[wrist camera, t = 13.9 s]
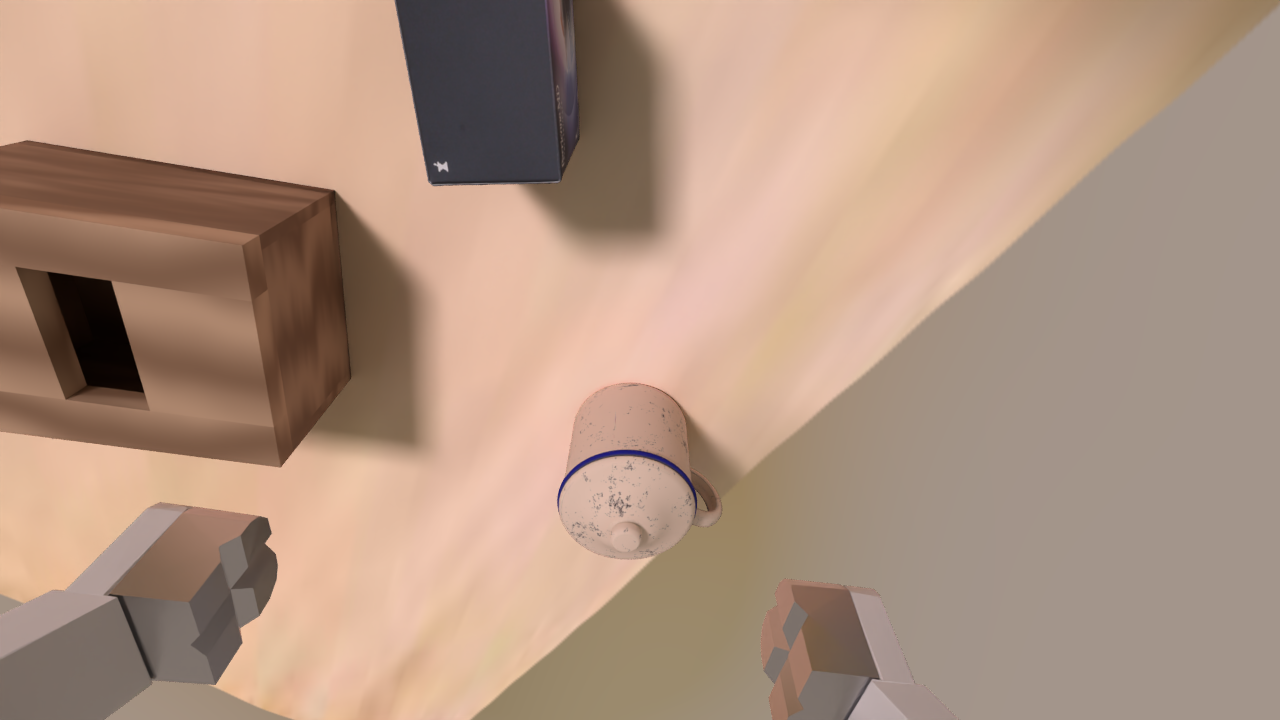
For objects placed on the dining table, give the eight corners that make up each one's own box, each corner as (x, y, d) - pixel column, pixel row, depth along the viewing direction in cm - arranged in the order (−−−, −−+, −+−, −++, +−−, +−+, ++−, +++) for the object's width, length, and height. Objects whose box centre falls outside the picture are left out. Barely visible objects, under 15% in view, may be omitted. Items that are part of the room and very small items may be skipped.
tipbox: (27, 140, 37) (-165, 183, 28) (334, 190, 38) (242, 245, 29) (94, 342, 44) (-43, 426, 35) (351, 378, 45) (280, 467, 36)
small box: (587, 143, 36) (567, 189, 27) (478, 145, 36) (423, 191, 27) (574, -74, 31) (544, -105, 22) (447, -71, 31) (365, -101, 22)
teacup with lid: (552, 446, 48) (527, 563, 38) (603, 358, 44) (590, 464, 34) (684, 500, 51) (693, 623, 41) (743, 422, 47) (770, 538, 37)
